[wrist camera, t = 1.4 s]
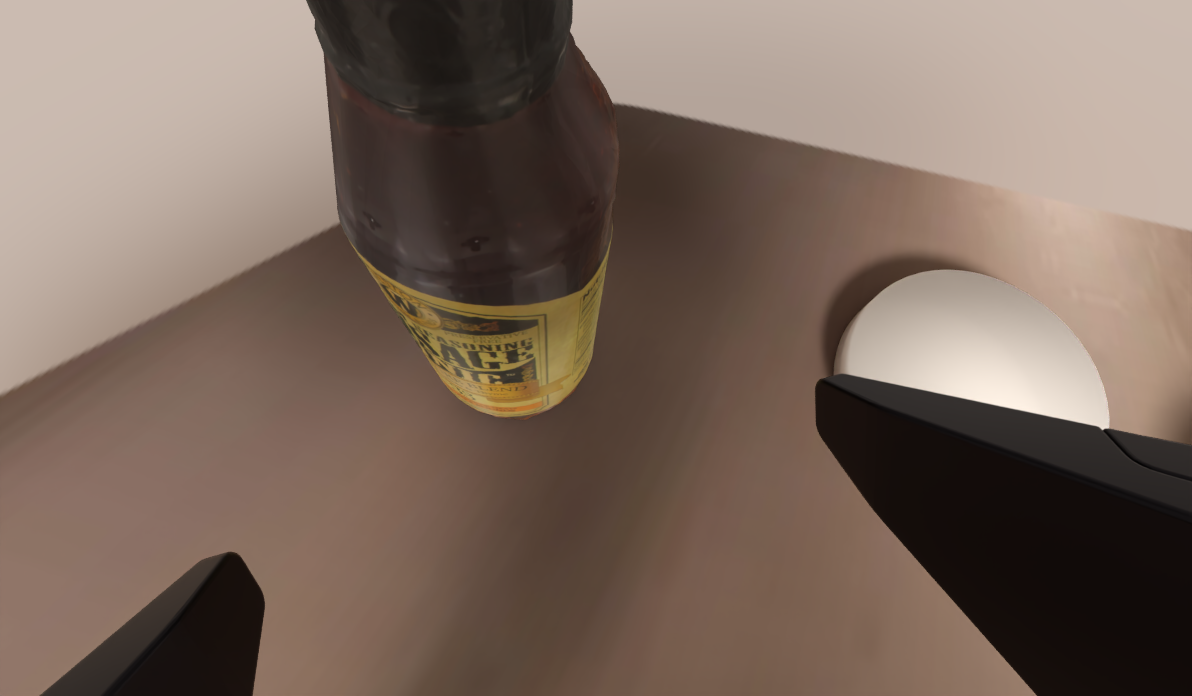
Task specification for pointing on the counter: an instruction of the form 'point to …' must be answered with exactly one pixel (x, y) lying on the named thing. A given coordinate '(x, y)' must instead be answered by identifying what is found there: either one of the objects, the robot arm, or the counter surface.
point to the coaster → (974, 346)
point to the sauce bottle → (476, 185)
